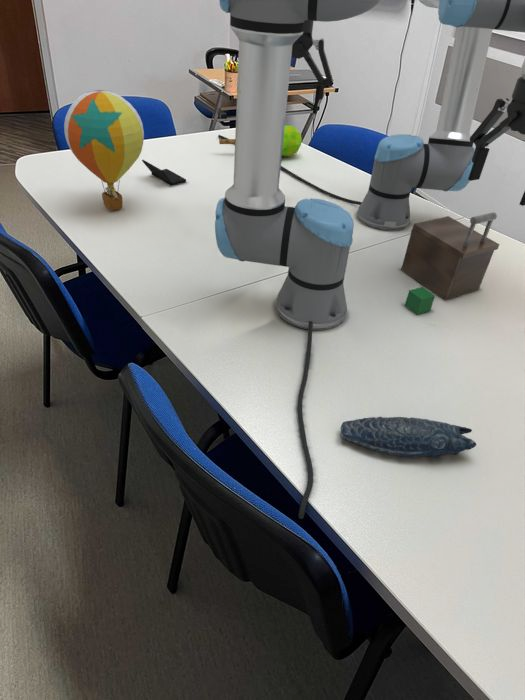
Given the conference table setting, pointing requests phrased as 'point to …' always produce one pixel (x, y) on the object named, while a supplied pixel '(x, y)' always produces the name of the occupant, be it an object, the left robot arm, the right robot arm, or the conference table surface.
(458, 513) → the conference table surface
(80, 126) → the toy
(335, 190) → the conference table surface
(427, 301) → the block
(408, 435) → the fish model
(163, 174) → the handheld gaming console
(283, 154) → the decorative tree
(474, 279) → the chest
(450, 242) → the lid
